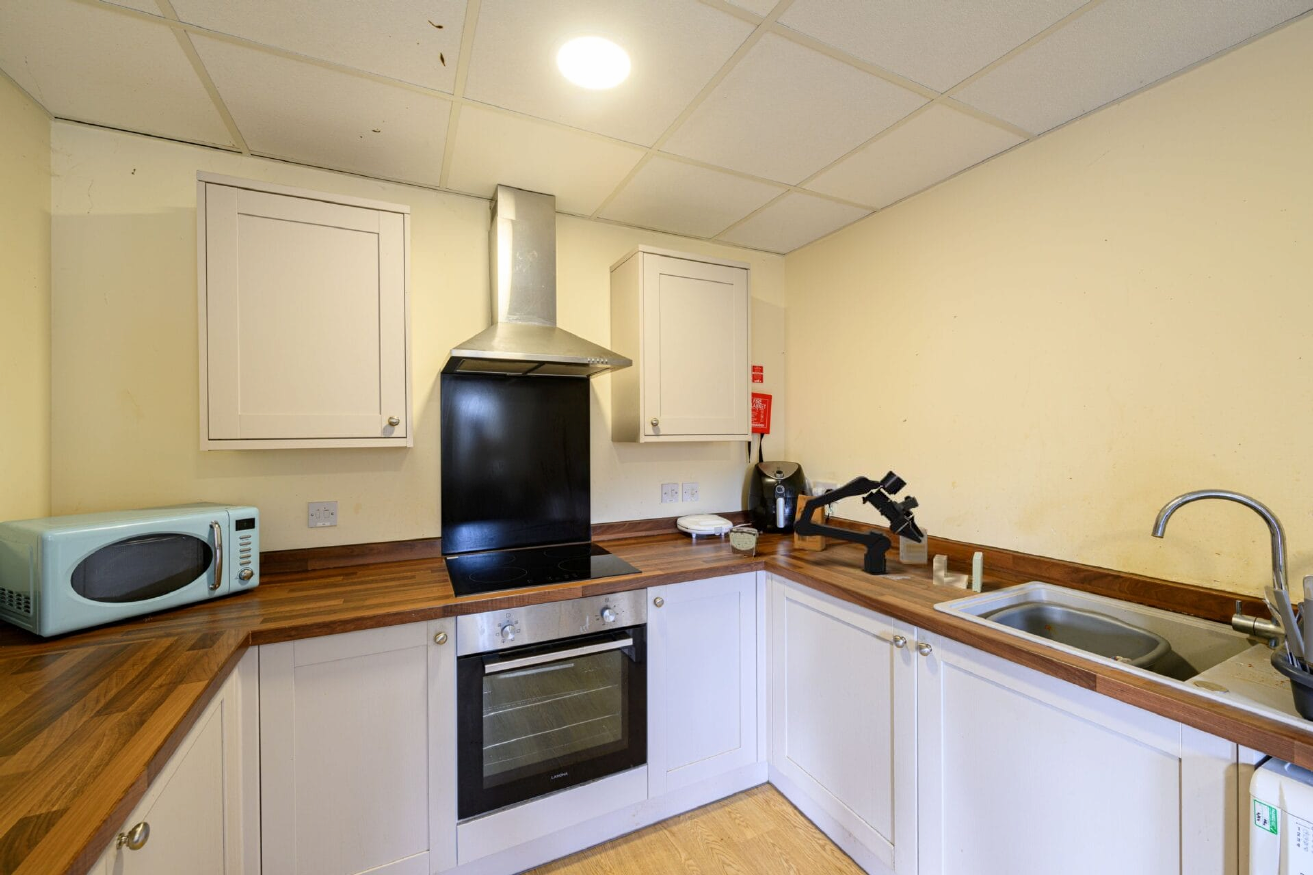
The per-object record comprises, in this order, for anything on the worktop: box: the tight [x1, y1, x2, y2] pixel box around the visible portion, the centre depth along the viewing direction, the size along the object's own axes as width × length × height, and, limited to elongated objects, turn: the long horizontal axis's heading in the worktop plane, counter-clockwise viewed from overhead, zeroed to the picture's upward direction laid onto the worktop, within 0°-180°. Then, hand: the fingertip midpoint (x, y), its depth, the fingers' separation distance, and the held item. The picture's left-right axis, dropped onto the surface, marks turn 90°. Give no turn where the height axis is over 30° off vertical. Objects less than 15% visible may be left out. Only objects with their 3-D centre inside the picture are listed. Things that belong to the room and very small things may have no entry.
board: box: [971, 551, 984, 593], centre depth 164 cm, size 2×11×10 cm, turn 146°
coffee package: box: [793, 494, 826, 552], centre depth 217 cm, size 10×12×22 cm
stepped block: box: [932, 554, 969, 590], centre depth 168 cm, size 9×8×8 cm
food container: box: [727, 526, 759, 556], centre depth 206 cm, size 12×6×10 cm, turn 58°
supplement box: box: [899, 526, 928, 566], centre depth 194 cm, size 8×5×13 cm, turn 84°
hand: (922, 539), depth 173 cm, fingers open, 9 cm apart
